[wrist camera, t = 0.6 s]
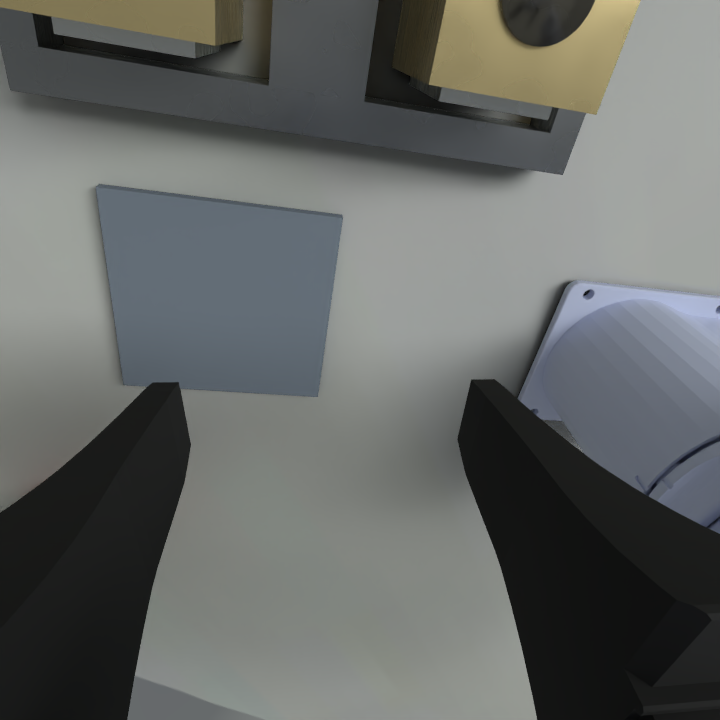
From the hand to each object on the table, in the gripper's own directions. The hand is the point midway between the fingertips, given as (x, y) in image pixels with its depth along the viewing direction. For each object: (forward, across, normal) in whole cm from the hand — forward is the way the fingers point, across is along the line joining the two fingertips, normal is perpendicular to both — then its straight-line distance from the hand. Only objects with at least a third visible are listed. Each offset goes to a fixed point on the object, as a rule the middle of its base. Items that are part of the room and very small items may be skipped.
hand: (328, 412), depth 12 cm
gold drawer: (+10, -5, -9) cm, 14 cm away
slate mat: (+10, +4, +2) cm, 11 cm away
